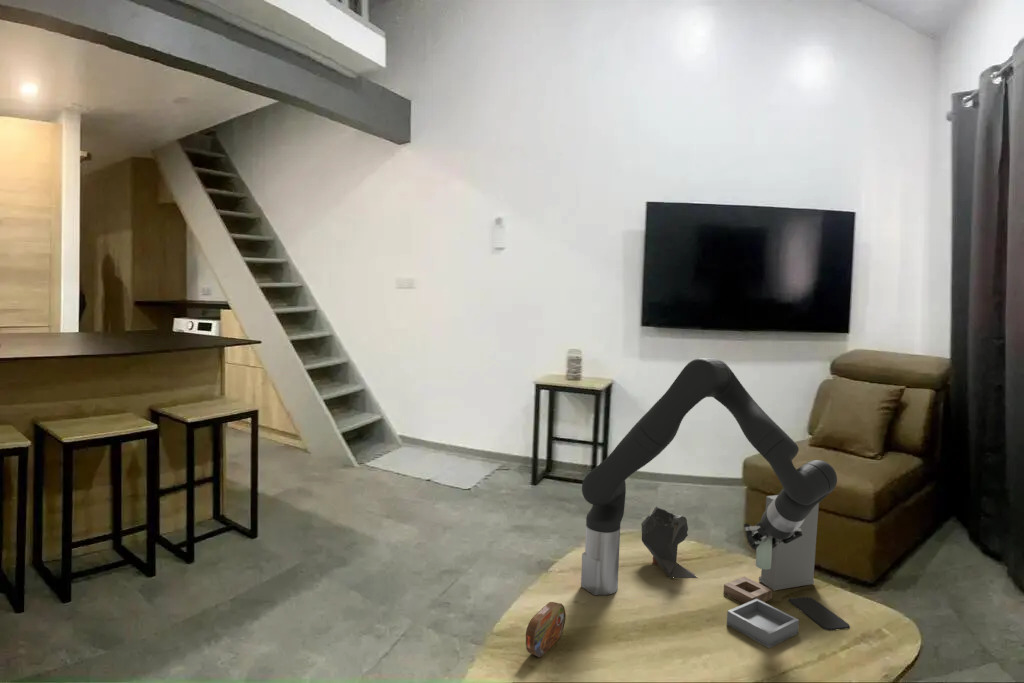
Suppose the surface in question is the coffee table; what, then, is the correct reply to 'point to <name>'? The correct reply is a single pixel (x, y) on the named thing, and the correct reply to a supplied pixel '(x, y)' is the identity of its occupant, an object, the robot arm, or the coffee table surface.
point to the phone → (818, 613)
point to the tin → (545, 628)
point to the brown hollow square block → (740, 585)
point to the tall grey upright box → (793, 556)
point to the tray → (763, 622)
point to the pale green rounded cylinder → (764, 555)
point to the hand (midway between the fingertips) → (760, 545)
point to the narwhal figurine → (666, 540)
